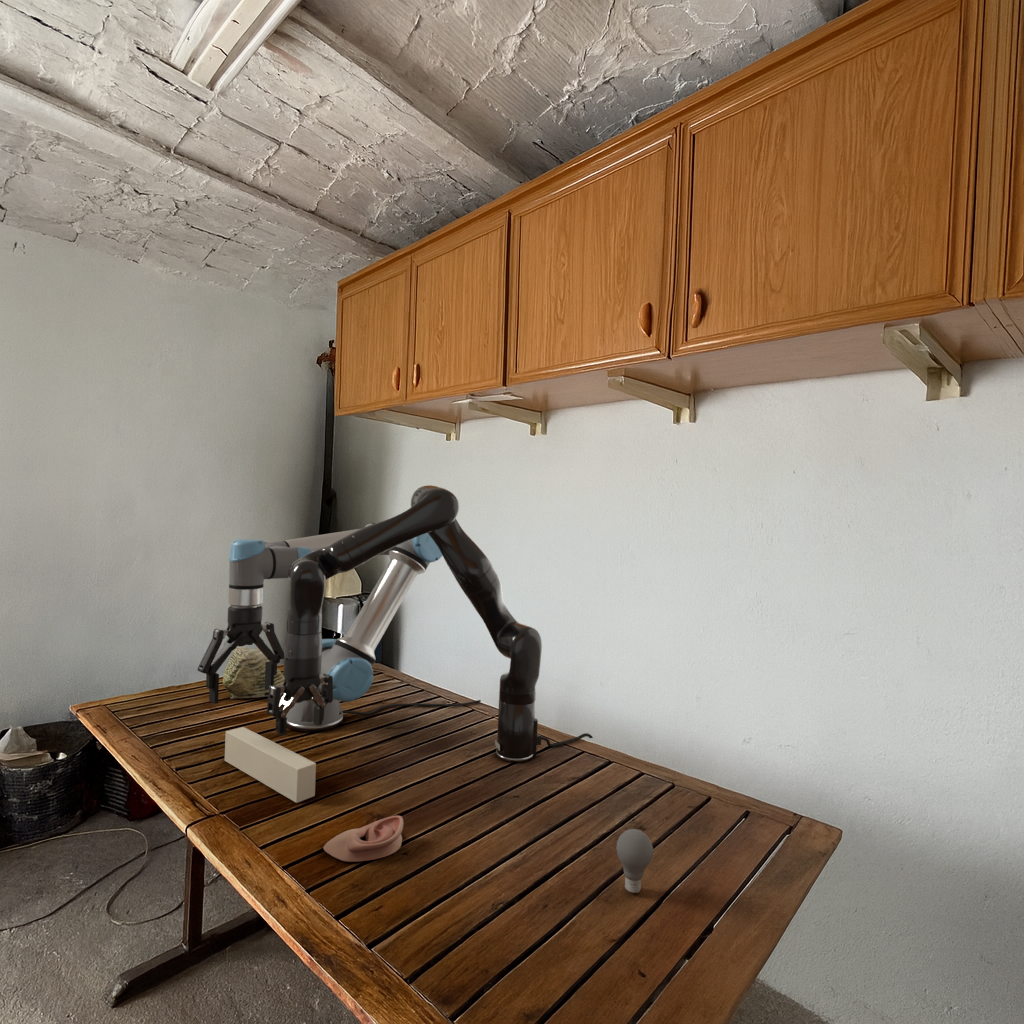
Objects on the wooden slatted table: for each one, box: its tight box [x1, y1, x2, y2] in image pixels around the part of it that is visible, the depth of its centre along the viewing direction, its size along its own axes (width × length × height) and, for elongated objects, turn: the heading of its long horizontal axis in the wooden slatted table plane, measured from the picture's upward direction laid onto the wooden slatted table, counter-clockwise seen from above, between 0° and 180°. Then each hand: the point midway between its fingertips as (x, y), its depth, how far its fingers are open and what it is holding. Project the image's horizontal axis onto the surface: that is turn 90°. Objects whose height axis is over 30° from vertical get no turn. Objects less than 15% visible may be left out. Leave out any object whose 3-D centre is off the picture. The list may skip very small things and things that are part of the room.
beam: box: [224, 726, 317, 804], centre depth 142 cm, size 30×4×7 cm, turn 51°
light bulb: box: [615, 828, 654, 894], centre depth 106 cm, size 6×6×10 cm
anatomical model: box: [323, 815, 404, 863], centre depth 116 cm, size 13×4×12 cm
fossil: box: [222, 646, 285, 699], centre depth 198 cm, size 9×18×15 cm, turn 132°
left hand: (242, 695), depth 149 cm, fingers open, 13 cm apart
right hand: (299, 729), depth 134 cm, fingers open, 8 cm apart
